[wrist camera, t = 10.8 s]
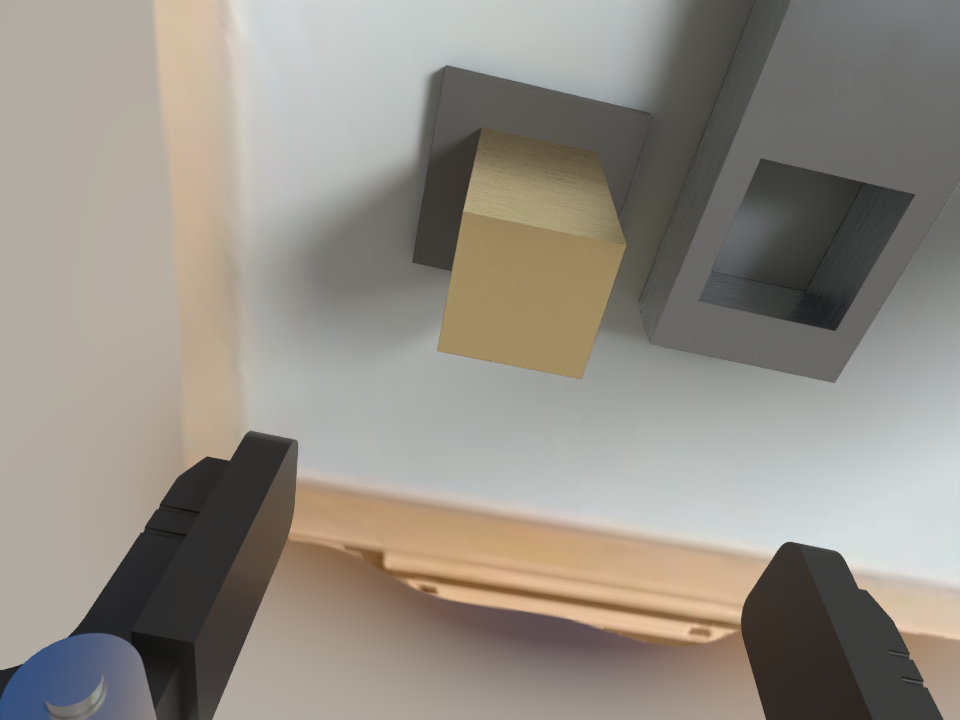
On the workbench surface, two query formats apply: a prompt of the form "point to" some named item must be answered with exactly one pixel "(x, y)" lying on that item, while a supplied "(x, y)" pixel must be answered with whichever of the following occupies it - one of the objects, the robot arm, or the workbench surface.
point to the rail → (823, 148)
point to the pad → (519, 112)
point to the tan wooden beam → (532, 256)
